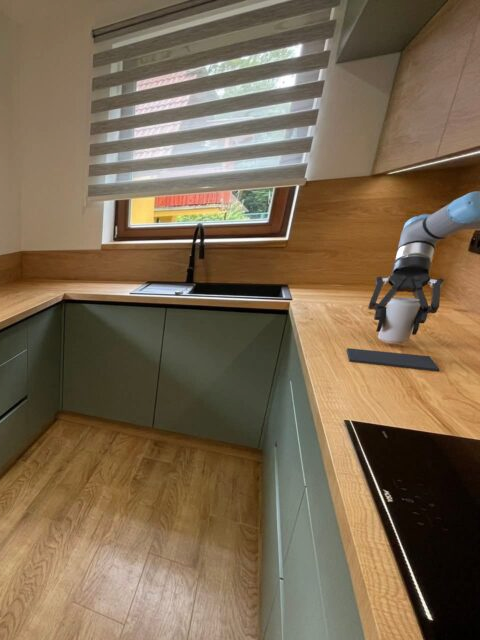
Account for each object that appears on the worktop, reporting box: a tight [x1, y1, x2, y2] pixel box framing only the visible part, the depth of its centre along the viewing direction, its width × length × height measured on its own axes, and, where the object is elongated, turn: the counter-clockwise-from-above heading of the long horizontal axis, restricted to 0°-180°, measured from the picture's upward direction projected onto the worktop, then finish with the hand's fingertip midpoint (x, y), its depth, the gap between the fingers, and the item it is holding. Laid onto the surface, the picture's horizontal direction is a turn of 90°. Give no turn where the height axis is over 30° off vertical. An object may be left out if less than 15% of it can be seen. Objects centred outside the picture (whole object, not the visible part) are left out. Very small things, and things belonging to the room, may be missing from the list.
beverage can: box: [377, 297, 420, 345], centre depth 118 cm, size 6×6×12 cm
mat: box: [346, 347, 441, 372], centre depth 108 cm, size 16×12×1 cm
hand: (396, 330), depth 116 cm, fingers closed on beverage can, 6 cm apart
